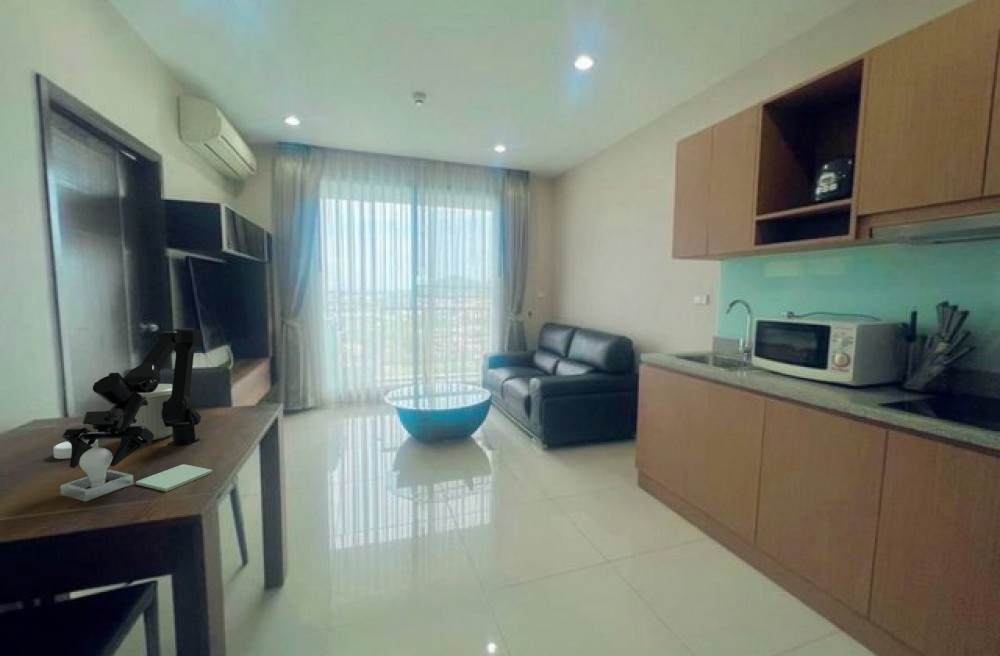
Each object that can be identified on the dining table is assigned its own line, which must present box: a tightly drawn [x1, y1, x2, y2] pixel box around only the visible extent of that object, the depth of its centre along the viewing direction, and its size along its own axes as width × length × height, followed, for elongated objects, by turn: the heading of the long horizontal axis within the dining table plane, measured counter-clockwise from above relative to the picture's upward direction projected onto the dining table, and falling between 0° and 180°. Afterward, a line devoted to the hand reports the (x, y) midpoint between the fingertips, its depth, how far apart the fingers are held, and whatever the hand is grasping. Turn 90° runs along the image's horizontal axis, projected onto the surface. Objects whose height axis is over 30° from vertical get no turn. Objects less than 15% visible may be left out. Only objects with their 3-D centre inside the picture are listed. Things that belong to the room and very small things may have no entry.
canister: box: [130, 383, 173, 441], centre depth 144 cm, size 18×18×21 cm
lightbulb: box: [78, 446, 114, 488], centre depth 105 cm, size 6×6×11 cm
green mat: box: [135, 464, 214, 493], centre depth 112 cm, size 12×12×1 cm
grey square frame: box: [59, 469, 134, 502], centre depth 106 cm, size 10×10×2 cm
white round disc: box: [52, 439, 99, 460], centre depth 130 cm, size 10×10×4 cm
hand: (91, 466), depth 104 cm, fingers open, 9 cm apart
